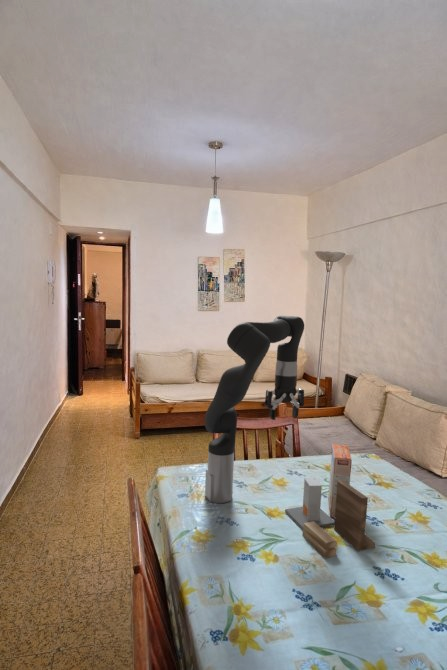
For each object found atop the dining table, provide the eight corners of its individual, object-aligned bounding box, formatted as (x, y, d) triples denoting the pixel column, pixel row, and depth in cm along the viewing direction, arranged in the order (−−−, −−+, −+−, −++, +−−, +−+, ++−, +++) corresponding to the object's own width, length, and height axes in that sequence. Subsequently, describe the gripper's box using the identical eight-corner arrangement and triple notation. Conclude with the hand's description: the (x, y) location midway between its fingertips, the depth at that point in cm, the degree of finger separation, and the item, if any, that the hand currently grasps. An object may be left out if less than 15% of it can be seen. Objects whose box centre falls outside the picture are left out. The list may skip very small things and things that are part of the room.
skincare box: (302, 511, 144) (304, 477, 143) (314, 511, 144) (316, 477, 143) (307, 521, 138) (309, 485, 137) (320, 521, 138) (322, 485, 137)
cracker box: (348, 520, 142) (352, 459, 140) (329, 517, 143) (333, 457, 141) (345, 500, 155) (348, 444, 153) (327, 498, 156) (331, 443, 154)
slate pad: (303, 530, 134) (303, 527, 134) (285, 512, 145) (285, 509, 145) (335, 525, 138) (335, 522, 138) (315, 507, 149) (315, 504, 149)
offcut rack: (324, 558, 120) (327, 503, 119) (302, 535, 132) (305, 485, 130) (375, 547, 127) (379, 495, 125) (349, 526, 138) (353, 478, 136)
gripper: (298, 370, 155) (296, 414, 157) (263, 371, 150) (260, 416, 152) (309, 374, 148) (306, 420, 150) (272, 375, 143) (270, 423, 145)
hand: (283, 418), depth 151 cm, fingers open, 8 cm apart
